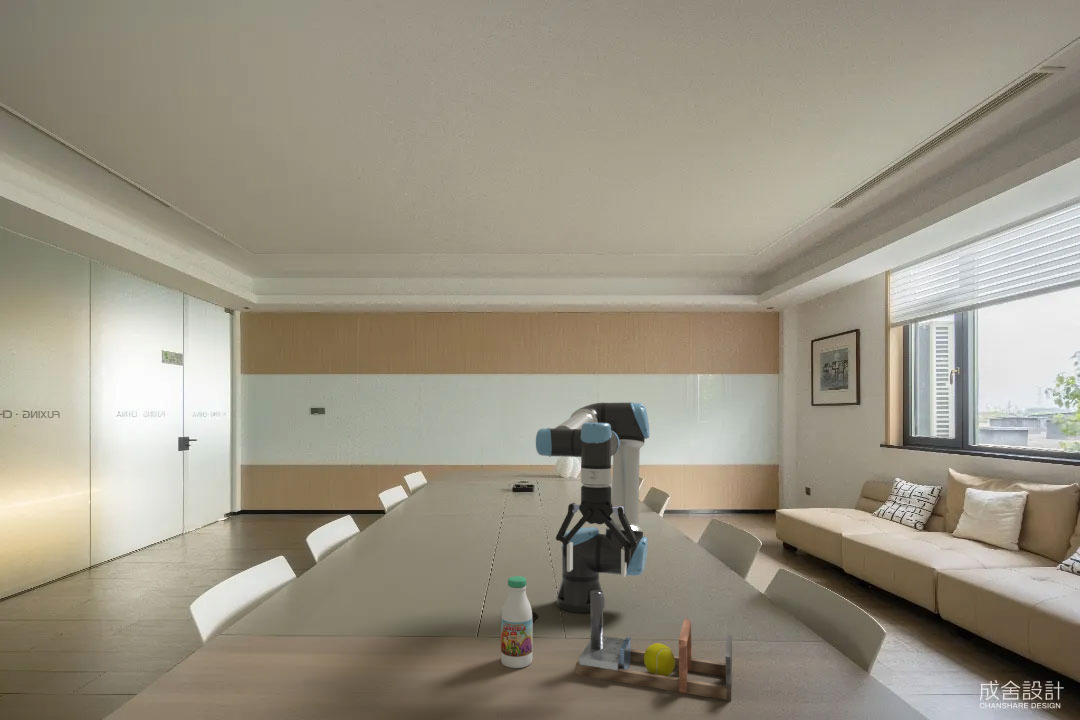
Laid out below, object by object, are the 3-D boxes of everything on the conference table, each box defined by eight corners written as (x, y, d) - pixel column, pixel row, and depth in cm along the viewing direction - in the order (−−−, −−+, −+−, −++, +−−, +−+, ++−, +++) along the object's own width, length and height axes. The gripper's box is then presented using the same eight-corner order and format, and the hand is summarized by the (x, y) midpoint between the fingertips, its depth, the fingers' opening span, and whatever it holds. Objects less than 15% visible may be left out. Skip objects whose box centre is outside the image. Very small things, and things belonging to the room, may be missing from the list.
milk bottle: (500, 655, 143) (501, 574, 144) (531, 654, 144) (531, 573, 145) (501, 669, 135) (501, 583, 137) (533, 668, 136) (533, 582, 137)
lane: (575, 674, 133) (575, 625, 134) (589, 652, 145) (589, 607, 146) (731, 701, 121) (730, 646, 122) (732, 674, 133) (731, 625, 134)
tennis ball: (638, 671, 134) (638, 641, 135) (663, 666, 137) (662, 636, 138) (655, 685, 128) (655, 653, 129) (681, 679, 131) (680, 648, 131)
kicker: (579, 674, 132) (579, 599, 133) (593, 650, 145) (593, 582, 146) (621, 681, 129) (621, 605, 130) (632, 656, 142) (632, 587, 143)
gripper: (543, 484, 142) (543, 571, 140) (644, 489, 133) (644, 582, 131) (553, 480, 149) (552, 564, 147) (649, 485, 140) (650, 574, 138)
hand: (596, 573), depth 139 cm, fingers open, 13 cm apart
